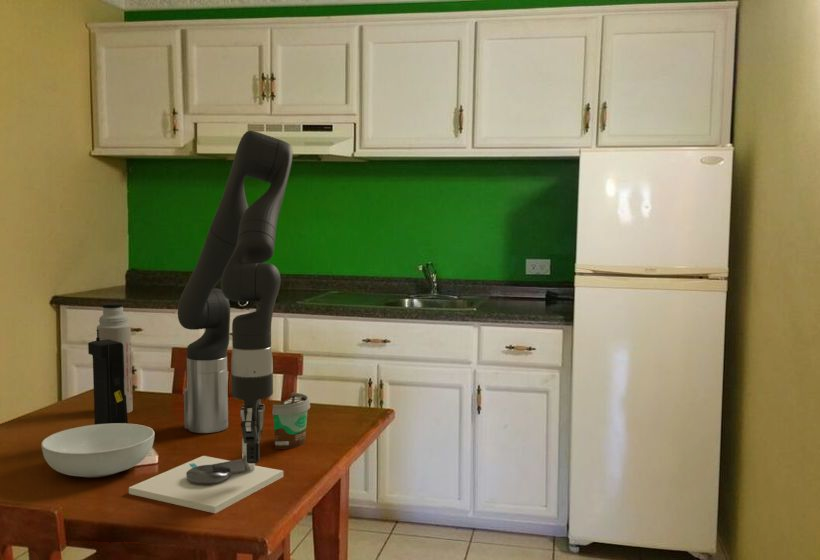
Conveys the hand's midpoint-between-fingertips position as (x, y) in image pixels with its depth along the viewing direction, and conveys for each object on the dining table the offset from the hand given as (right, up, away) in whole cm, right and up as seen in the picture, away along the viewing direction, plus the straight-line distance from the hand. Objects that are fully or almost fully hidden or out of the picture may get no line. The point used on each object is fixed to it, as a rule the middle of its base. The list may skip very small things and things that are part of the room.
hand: (253, 461), depth 140 cm
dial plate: (-9, -5, +2) cm, 10 cm away
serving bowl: (-33, -4, +10) cm, 34 cm away
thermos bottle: (-46, 0, +53) cm, 70 cm away
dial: (-7, -3, +3) cm, 8 cm away
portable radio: (-37, -2, +27) cm, 46 cm away
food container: (+4, -3, +28) cm, 28 cm away
